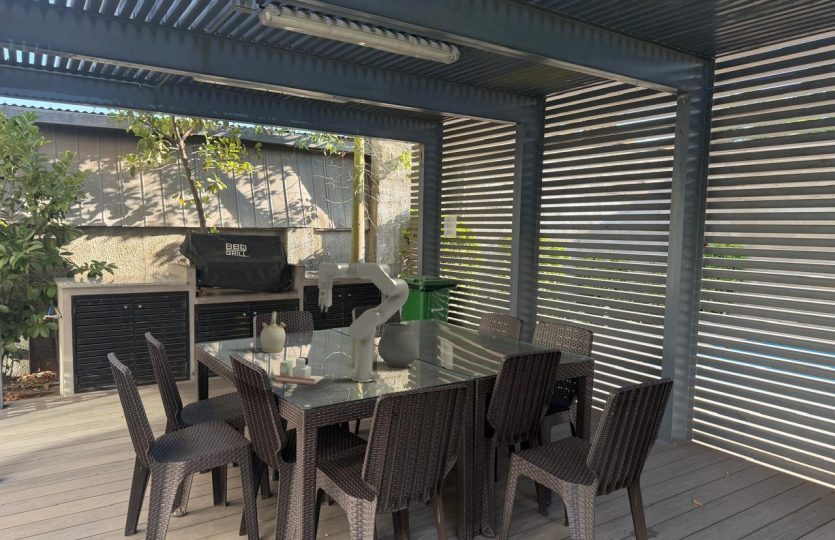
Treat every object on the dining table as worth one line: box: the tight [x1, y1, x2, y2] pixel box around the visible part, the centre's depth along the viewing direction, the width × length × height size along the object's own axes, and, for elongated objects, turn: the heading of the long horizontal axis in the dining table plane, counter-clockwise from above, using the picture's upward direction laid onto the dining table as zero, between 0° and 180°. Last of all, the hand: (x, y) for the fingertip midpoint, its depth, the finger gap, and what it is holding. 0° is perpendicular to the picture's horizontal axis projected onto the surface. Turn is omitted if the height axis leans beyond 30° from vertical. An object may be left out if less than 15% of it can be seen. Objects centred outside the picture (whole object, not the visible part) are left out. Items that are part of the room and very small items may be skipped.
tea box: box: [279, 359, 293, 377], centre depth 294 cm, size 4×6×9 cm, turn 170°
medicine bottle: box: [292, 356, 312, 379], centre depth 292 cm, size 7×7×12 cm
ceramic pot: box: [377, 322, 420, 368], centre depth 337 cm, size 24×24×25 cm
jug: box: [259, 311, 287, 354], centre depth 359 cm, size 15×16×25 cm
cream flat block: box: [275, 374, 325, 386], centre depth 296 cm, size 20×17×3 cm
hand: (324, 319), depth 310 cm, fingers closed
